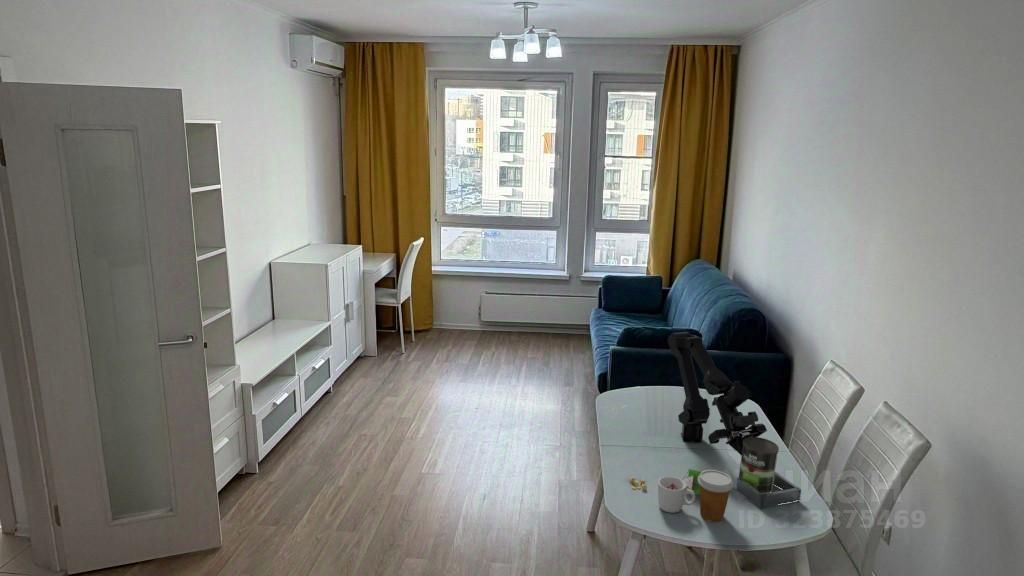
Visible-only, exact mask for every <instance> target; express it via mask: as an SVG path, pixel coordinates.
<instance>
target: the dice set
mask: <svg viewBox="0 0 1024 576" xmlns="http://www.w3.org/2000/svg"><path fill="white" fill-rule="evenodd" d="M629 479H630V480H629V482H630V484H633V483H634V484H633V485H634V486H631V489H632V490H633V489H634V490H636V489H637V490H640V489H641V491H643V492H646V491H647V484H646V480H645V479H641V480H640V484H639V481H638V480H636V478H635V477H630V478H629ZM639 485H640V486H639Z"/></svg>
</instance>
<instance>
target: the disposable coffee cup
mask: <svg viewBox="0 0 1024 576" xmlns="http://www.w3.org/2000/svg"><path fill="white" fill-rule="evenodd" d="M700 472H701V473H700V476H698V483H699V491H700V492H699V493H700V495H699V512H700V513H699V514H700V517H701V518H702V519H704V520H706V521H708V522H714V523H715V522H716V523H717V522H721V521H722V520H723V519H724V515H725V513H726V508H727V504H728V500H729V497H730V496H729V495H730V492H731V490H732V488H733V485H734V483H733V481H732V478H731V476H730V475H729V474H727V473H725V472H724V471H720V470H715V469H706V470H703V471H700Z"/></svg>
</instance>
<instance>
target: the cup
mask: <svg viewBox="0 0 1024 576" xmlns="http://www.w3.org/2000/svg"><path fill="white" fill-rule="evenodd" d="M658 479H659V480H657V494H658V495H657V497H658V498H657V501H658V506H659V508H660V509H661V510H662V511H664V512H667V513H671V514H675V513H678V512H680V511H681V510H682V508H683V506H692V505H694V504H695V501H696V495H697V494H695V493H694V491H692V490H690V489H687V488H686V487H687V486H686V484H685V482H684V481H683V479H682V478H681V479H680V478H678V477H675V476H663V477H660V478H658ZM689 494H690V495H691V496H692V499H691V500H690V501H688V499H687V498H686V496H687V495H689Z"/></svg>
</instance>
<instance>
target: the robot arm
mask: <svg viewBox="0 0 1024 576" xmlns="http://www.w3.org/2000/svg"><path fill="white" fill-rule="evenodd" d="M667 344H668V346H669V349H670V352H671V353H672V354H673V355H674V357H675V358H676V359H677V364H678V368H679V373H680V378H681V382H682V385H683V391H684V395H685V399H684V402H683V405H682V407H683V408H682V409H683V411H682V412H680V413H678V416H677V417H678V421H679V423H680V424H682V425H681V426H682V428H681V432H680V436H681V439H682V442H684V443H685V442H686V443H699V444H700V443H701V444H702V439H703V438H704V437H703V436H704V435H703V434H704V427H703V424H707V422H708V419H709V418H710V415H711V412H710V410H711V409H710V406H709V402H708V401H709V400H708V399H707V398H704V397H703V396H702V395H701V394H700V389H699V386H698V385H699V384H698V380H697V377H696V376H697V375H696V371H695V367H694V362H693V360H695V362H696V364H697V366H698V367H699V369H700V371H701V373H702V375H703V385H704V387H705V391H706V393H708V394H709V395H710V396H716V397H713V401H712V403H711V406H712V407H713V406H716V408H717V410H718V413H719V415H720V419H719V422H720V424H722V423H723V426H724V428H720V429H719V428H718V429H715V430H713V431H712V432H711V433H709V434H708V441H709V444H710V445H713V444H714V445H715V444H719V442H720V440H721V439H722V440H723V439H726V440H727V441H726V442H725V444H726V445H728V446H730V447H731V448H732V449H734V450H735V452H737V453H738V454H739V455H740V456H741V457H742V449H743V440H744V439H746V438H749V437H760V436H761V435H763V434H765V433H767V432H768V429H767V427H766V425H765V424H764V423H756V422H758V421H759V417H758V414H757V412H756V411H748V412H747V415H744V414H743V412H742V411H739V410H738V407H740V406H741V405H742V404H744V403H745V402H747V401H748V400H749V399H750V398H751V391H750V389H749V388H747V386H745V385H744V384H741V382H740V380H738V381H737V380H735V381H733V382H732V381H730V379H729V378H728V377H727V375H726V374H725V373H724V372H723V371H722V370H720V369H718V368H717V367H716V364H715V362H714V360H713V358H712V357H711V355H710V354H709V352H708V351H707V349H706V347H705V345H704V343H703V338H702V337H700V336H697V335H695V334H691V333H690V332H689V331H682V332H672V333H670V335H669V336H668V338H667ZM692 356H693V358H694V359H692ZM717 395H718V396H717Z"/></svg>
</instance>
